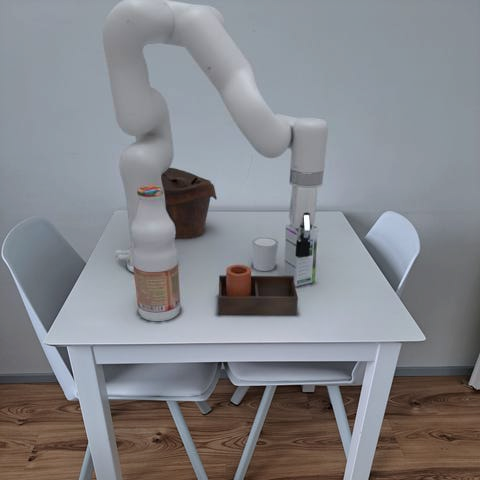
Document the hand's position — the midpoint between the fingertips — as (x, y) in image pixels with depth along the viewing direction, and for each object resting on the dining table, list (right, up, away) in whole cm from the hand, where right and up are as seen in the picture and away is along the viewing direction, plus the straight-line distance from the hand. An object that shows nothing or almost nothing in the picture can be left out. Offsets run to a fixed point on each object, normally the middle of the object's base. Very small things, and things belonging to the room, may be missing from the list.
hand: (300, 249), depth 121 cm
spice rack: (-11, -14, -7) cm, 19 cm away
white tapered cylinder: (-8, -3, +11) cm, 14 cm away
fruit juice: (-33, -16, -10) cm, 38 cm away
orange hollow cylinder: (-15, -14, -7) cm, 22 cm away
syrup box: (0, -8, +4) cm, 9 cm away
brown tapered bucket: (-32, +10, +32) cm, 46 cm away
